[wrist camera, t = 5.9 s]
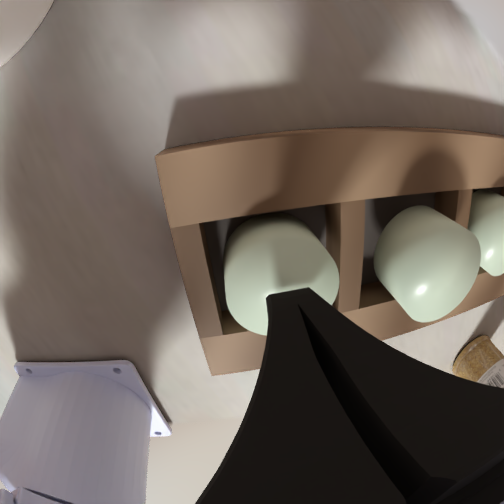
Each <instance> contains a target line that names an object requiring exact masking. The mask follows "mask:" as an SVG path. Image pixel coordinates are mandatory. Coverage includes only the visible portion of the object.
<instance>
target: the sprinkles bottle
mask: <svg viewBox="0 0 504 504" xmlns="http://www.w3.org/2000/svg"><path fill="white" fill-rule="evenodd" d="M452 371H453V373H454V374H455V376H458V377H461V378H464V379H468V380H471V381H474V382H478V383H481V384H485V385H490V386H495V387H500V388H504V356H503V354H502V353H501V352H500V351H499V350H498V349H497V348H496V347H495V345H494V344H493V343H492V342H491V340H490V338H489V337H488V336H486V335H483V336H480V337H478V338H476V339H475V340H473V341H472V342H470V343H469V344H468V345H467V346H466V347H465V348H464V349H463V350H462V352H461V353H460V354H459V356H458V357H457V359H456V361H455V362H454V365H453V370H452Z"/></svg>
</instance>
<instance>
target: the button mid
mask: <svg viewBox="0 0 504 504" xmlns="http://www.w3.org/2000/svg"><path fill="white" fill-rule="evenodd" d="M480 262H481V248H480V244H479V241H478V239H477V237H476V236H475V235H474V234H473V233H472V232H471V231H469V230H468V229H466V228H464V227H463V226H461V225H460V224H458V223H456V222H455V221H453V220H451V219H450V218H448V217H446V216H445V215H443V214H441V213H439V212H438V211H436V210H434V209H432V208H431V207H428V206H423V205H418V206H412V207H410V208H407V209H405V210H403V211H401V212H400V213H399V214H397V215H396V216H395V217H394V218H393V219H392V220H391V221H390V222H389V223H388V224H387V225H386V227H385V228H384V230H383V231H382V233H381V235H380V237H379V239H378V242H377V244H376V248H375V252H374V270H375V273H376V275H377V278H378V279H379V281H380V282H381V283H382V284H383V285H384V286H385V288H386V289H387V290H388V291H389V292H390V293H391V295H392V296H393V297H394V298H395V299H396V301H397V302H398V303H399V304H400V305H401V307H402V308H403V309H404V310H405V311H406V313H407V314H408V315H409V316H410V317H411V318H412V319H413V320H415V321H418V322H431V321H435V320H437V319H440V318H442V317H444V316H445V315H447V314H448V313H450V312H451V311H452V310H454V309H455V308H456V307H457V306H458V305H459V304H460V303H461V302H462V301H463V299H464V298H465V297H466V295H467V294H468V292H469V291H470V289H471V288H472V286H473V284H474V282H475V280H476V277H477V274H478V271H479V267H480Z"/></svg>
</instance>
